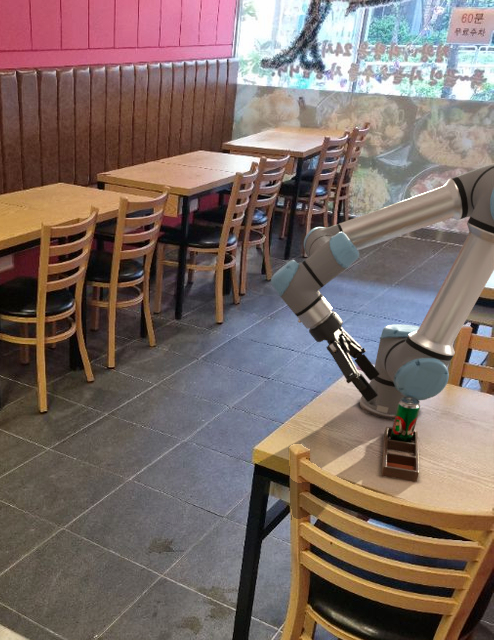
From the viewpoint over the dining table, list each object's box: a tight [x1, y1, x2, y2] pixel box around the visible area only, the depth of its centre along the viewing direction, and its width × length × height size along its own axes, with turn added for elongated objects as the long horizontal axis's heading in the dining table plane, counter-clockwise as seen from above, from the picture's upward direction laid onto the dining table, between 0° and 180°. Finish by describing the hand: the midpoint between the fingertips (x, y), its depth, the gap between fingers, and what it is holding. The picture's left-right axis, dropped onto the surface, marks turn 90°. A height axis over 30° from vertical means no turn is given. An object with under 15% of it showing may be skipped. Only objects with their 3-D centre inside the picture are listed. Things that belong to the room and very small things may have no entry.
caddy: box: [381, 426, 420, 483], centre depth 178 cm, size 22×8×2 cm, turn 162°
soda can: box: [389, 397, 421, 443], centre depth 182 cm, size 5×5×12 cm
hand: (373, 387), depth 180 cm, fingers open, 13 cm apart
